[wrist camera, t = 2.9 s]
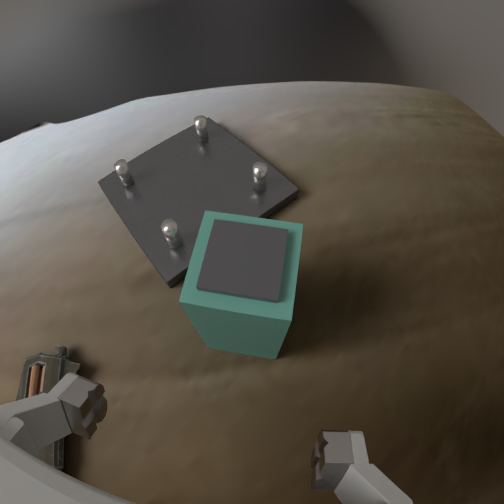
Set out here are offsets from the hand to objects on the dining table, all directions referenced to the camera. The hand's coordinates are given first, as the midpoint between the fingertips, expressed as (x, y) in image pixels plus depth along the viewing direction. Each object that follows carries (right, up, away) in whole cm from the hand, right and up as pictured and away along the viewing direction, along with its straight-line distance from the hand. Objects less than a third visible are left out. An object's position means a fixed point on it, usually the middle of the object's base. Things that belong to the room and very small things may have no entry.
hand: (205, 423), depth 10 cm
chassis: (-4, +12, +20) cm, 23 cm away
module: (+1, +1, +14) cm, 14 cm away
